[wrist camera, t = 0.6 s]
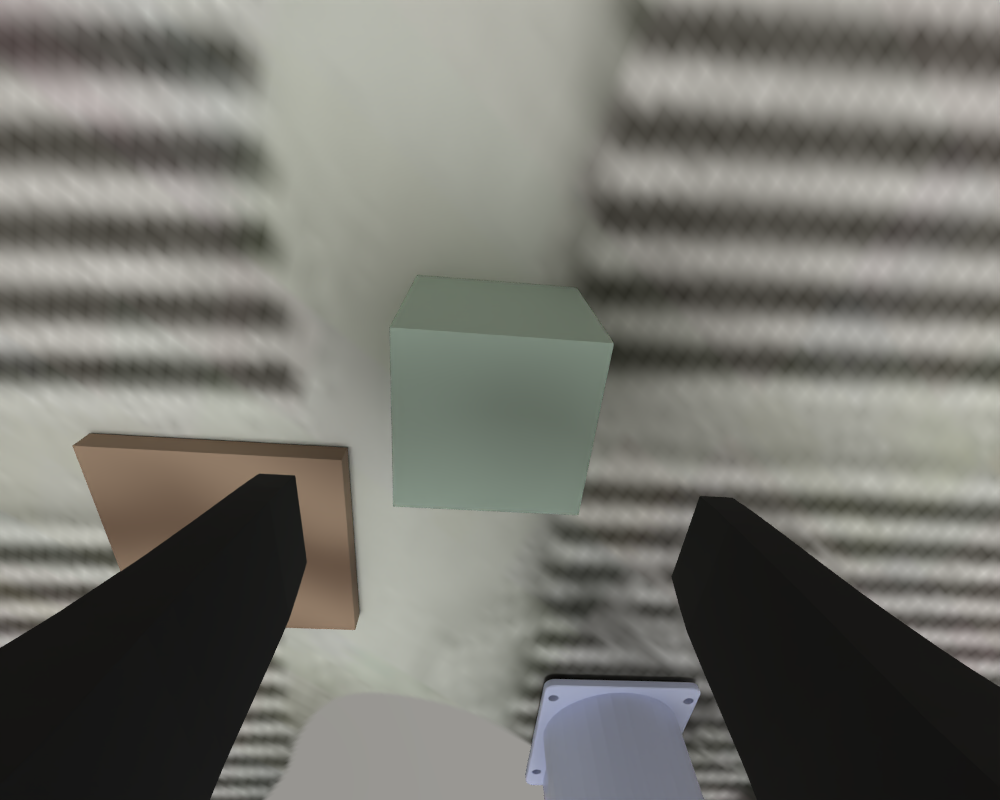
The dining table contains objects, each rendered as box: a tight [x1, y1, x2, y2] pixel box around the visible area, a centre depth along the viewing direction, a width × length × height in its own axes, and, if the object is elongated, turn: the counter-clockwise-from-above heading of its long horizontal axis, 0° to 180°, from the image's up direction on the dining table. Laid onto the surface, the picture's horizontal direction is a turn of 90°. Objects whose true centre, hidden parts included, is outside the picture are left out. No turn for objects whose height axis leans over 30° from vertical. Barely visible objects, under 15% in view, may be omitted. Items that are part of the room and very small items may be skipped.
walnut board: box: [73, 434, 359, 630], centre depth 19 cm, size 9×9×1 cm
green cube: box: [390, 275, 614, 515], centre depth 14 cm, size 5×5×5 cm
